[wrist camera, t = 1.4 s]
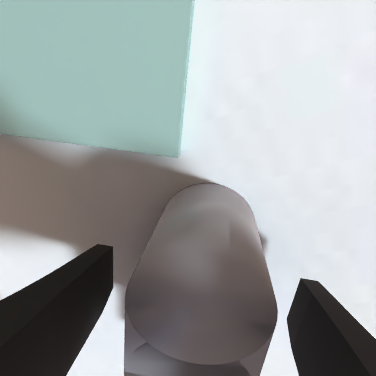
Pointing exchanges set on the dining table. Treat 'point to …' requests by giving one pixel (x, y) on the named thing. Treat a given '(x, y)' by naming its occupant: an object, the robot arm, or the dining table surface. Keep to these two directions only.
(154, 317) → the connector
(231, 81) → the dining table surface
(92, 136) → the mat
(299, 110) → the dining table surface
